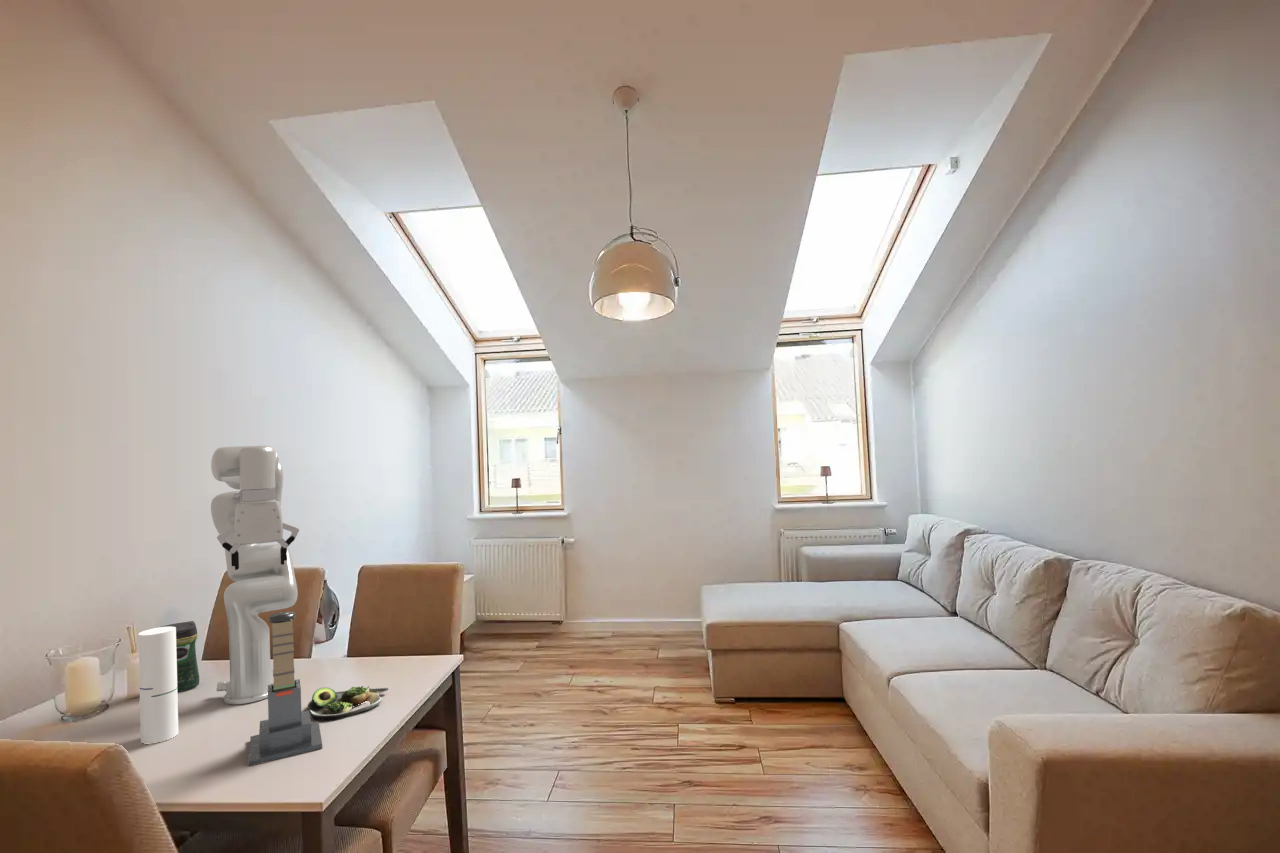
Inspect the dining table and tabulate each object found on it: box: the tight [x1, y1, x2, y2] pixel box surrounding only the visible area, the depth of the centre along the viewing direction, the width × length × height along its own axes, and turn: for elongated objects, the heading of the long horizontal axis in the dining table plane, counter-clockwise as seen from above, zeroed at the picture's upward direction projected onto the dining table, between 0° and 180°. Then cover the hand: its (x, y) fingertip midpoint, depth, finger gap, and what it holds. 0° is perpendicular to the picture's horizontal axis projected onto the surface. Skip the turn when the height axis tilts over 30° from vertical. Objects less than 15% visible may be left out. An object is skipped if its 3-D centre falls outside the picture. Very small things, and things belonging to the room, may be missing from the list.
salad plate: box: [307, 685, 389, 721], centre depth 169 cm, size 19×18×5 cm
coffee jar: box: [160, 620, 200, 693], centre depth 185 cm, size 10×8×19 cm
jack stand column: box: [268, 611, 296, 692], centre depth 147 cm, size 5×5×22 cm
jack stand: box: [248, 679, 323, 767], centre depth 147 cm, size 14×14×13 cm
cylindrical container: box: [137, 626, 179, 744], centre depth 153 cm, size 7×7×25 cm
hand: (260, 566), depth 159 cm, fingers open, 9 cm apart
